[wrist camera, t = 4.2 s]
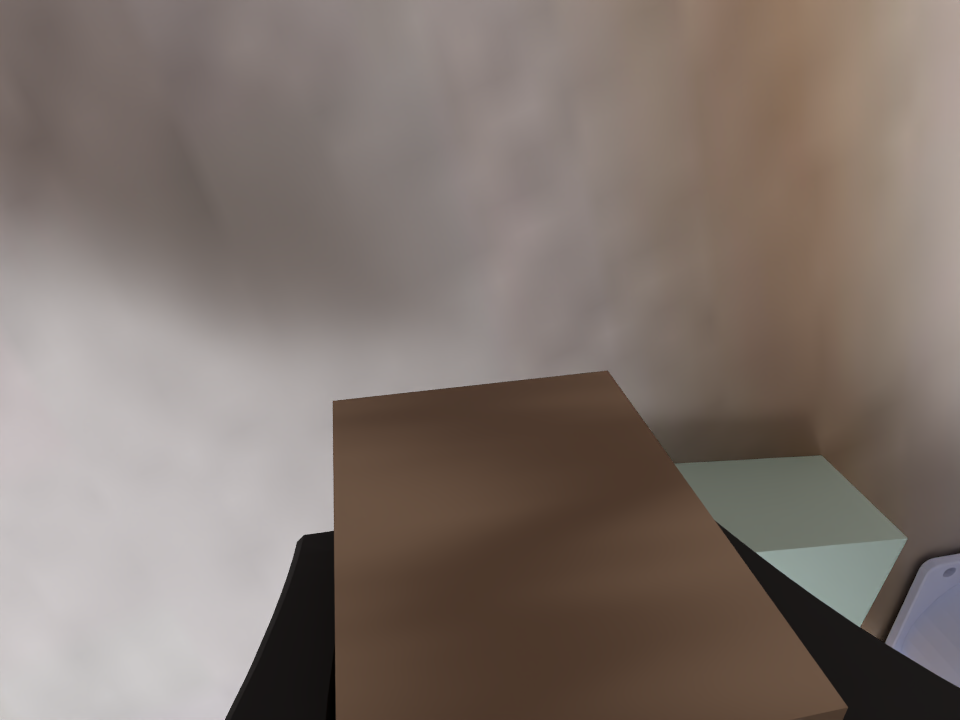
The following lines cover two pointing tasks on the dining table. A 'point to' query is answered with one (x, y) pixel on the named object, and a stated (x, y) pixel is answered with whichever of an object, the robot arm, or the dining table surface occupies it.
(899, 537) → the sage block
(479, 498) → the walnut block
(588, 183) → the dining table surface
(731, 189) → the dining table surface
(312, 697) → the robot arm
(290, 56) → the dining table surface
